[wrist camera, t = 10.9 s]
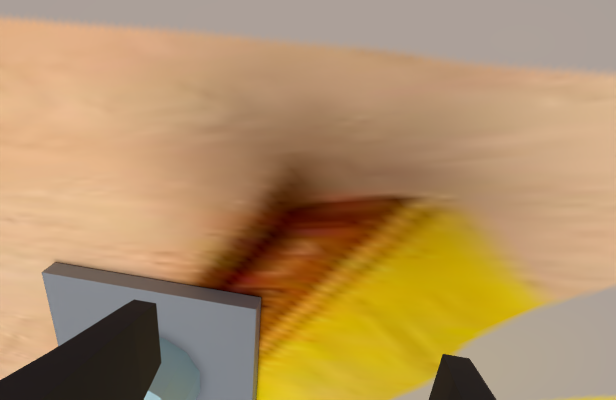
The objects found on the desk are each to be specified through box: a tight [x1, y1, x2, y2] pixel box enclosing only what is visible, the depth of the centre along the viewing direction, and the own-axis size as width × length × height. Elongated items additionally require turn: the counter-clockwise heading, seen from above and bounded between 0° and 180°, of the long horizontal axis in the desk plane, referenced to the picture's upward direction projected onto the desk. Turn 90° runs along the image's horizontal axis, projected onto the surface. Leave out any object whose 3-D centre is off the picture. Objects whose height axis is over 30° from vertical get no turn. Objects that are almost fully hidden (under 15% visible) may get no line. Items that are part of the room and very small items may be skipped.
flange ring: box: [144, 338, 200, 400], centre depth 22 cm, size 6×6×3 cm
